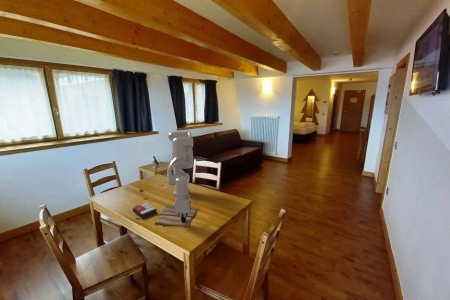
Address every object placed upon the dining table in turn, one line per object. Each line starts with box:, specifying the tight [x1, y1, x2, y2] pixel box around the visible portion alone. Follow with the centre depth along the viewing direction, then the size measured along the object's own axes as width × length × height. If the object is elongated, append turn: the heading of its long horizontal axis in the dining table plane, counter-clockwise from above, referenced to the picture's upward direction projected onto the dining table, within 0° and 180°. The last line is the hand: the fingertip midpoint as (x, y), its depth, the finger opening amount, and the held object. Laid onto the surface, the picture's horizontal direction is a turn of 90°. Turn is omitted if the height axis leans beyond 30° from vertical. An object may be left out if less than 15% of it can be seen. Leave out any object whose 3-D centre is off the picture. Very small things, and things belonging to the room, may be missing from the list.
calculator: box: [132, 202, 158, 220], centre depth 154 cm, size 11×4×15 cm
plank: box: [154, 214, 192, 227], centre depth 142 cm, size 9×22×1 cm, turn 83°
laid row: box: [159, 205, 198, 219], centre depth 153 cm, size 12×24×1 cm, turn 83°
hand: (183, 221), depth 140 cm, fingers closed
